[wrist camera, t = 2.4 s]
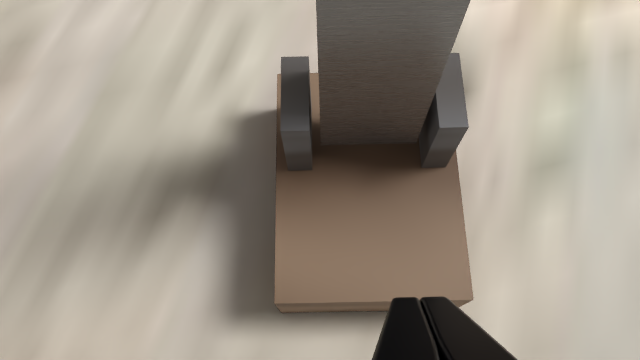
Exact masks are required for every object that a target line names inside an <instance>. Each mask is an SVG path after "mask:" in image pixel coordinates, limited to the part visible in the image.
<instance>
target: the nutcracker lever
mask: <svg viewBox="0 0 640 360" xmlns="http://www.w3.org/2000/svg"><path fill="white" fill-rule="evenodd" d="M469 3H470V0H316V12H317V42H318V73H319V104H320V135H321V145H353V144H399V143H416V142H417V139H418V137H419V134H420V131H421V129H422V126H423V123H424V121H425V118H426V116H427V113H428V110H429V108H430V105H431V103H432V100H433V97H434V95H435V92H436V89H437V87H438V84H439V82H440V79H441V76H442V74H443V71H444V68H445V66H446V63H447V61H448V58H449V55H450V53H451V50H452V47H453V45H454V42H455V40H456V37H457V34H458V32H459V29H460V26H461V24H462V21H463V19H464V16H465V13H466V11H467V8H468V5H469Z"/></svg>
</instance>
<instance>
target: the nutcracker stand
mask: <svg viewBox="0 0 640 360" xmlns="http://www.w3.org/2000/svg"><path fill="white" fill-rule="evenodd" d="M468 127H469V126H468V119H467V111H466V103H465V95H464V87H463V80H462V72H461V64H460V56H459V53H450V55H449V58H448V61H447V63H446V66H445V68H444V71H443V74H442V76H441V79H440V82H439V84H438V87H437V89H436V92H435V95H434V97H433V100H432V103H431V105H430V108H429V110H428V113H427V116H426V118H425V121H424V123H423V126H422V129H421V131H420V134H419V137H418V139H417V142H416V143H399V144H353V145H321V135H320V104H319V73H310V72H309V56H308V57H281V74H277V144H276V221H275V298H274V304H275V305H276V306H277V308H278V309H279V310H280V312H281V313H292V312H344V311H388V310H389V307H390V304H391V301H392V299H393V298H396V297H416V298H418V299H419V300H420V299H421V298H422V297H437V296H443V297H446V298H448V299H449V300H451V301H452V302H453V303H454V304H455V305H456V306H457V307H460V306H462V305H464V304H466V303H468V302H470V301H472V300H473V292H472V283H471V275H470V266H469V258H468V249H467V240H466V232H465V223H464V215H463V206H462V198H461V189H460V181H459V172H458V164H457V155H456V148H457V147H458V145H459V143H460V141H461V140H462V138H463V136H464V134H465V133H466V131H467V129H468Z"/></svg>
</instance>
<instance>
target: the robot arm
mask: <svg viewBox="0 0 640 360" xmlns="http://www.w3.org/2000/svg"><path fill="white" fill-rule="evenodd" d="M372 360H517V359H516V358H515V357H514V356H513V355H512V354H511V353H509V352H508V351H507V350H506V349H505V348H504V347H503V346H501V345H500V344H499V343H498V342H497V341H496V340H495V339H494V338H492V337H491V336H490V335H489V334H488V333H487V332H486V331H485V330H483V329H482V328H481V327H480V326H479V325H478V324H477V323H475V322H474V321H473V320H472V319H471V318H470V317H469V316H468V315H466V314H465V313H464V312H463V311H462V310H461V309H460V308H458V307H457V306H456V305H455V304H454V303H453V302H452V301H451V300H449V299H448V298H446V297H443V296H437V297H422V298H421V299H420V300H419V299H418V298H416V297H396V298H393V299H392V301H391V304H390V307H389V310H388V313H387V316H386V319H385V322H384V325H383V328H382V331H381V334H380V337H379V340H378V343H377V346H376V349H375V352H374V355H373V358H372Z"/></svg>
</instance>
